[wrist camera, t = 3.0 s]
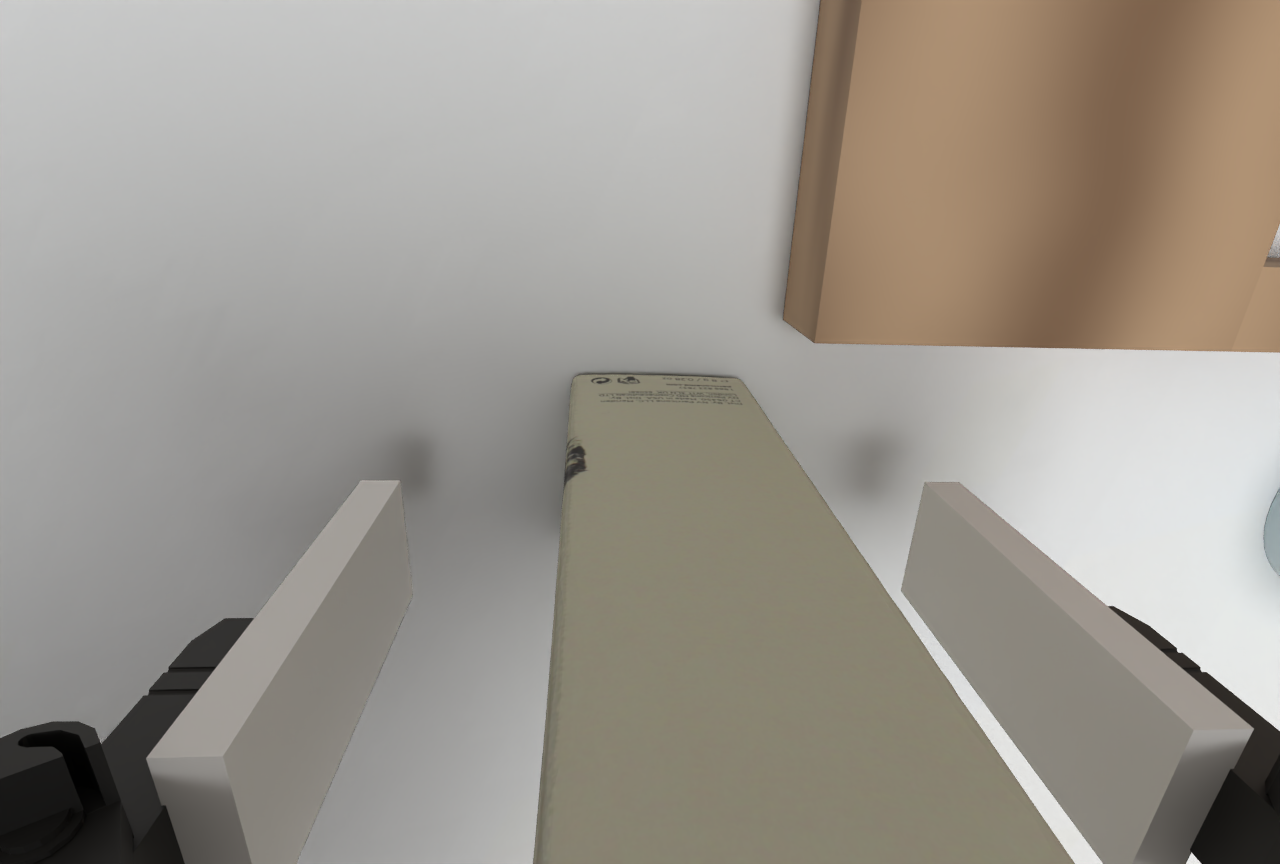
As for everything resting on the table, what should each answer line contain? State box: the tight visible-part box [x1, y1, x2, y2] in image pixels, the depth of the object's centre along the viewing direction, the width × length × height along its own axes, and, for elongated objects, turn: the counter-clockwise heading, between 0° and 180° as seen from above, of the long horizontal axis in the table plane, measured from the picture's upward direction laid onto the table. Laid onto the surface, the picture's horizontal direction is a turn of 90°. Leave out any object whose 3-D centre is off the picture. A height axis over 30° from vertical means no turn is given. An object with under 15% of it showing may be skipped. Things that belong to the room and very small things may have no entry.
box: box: [533, 374, 1075, 864], centre depth 11 cm, size 5×4×13 cm
